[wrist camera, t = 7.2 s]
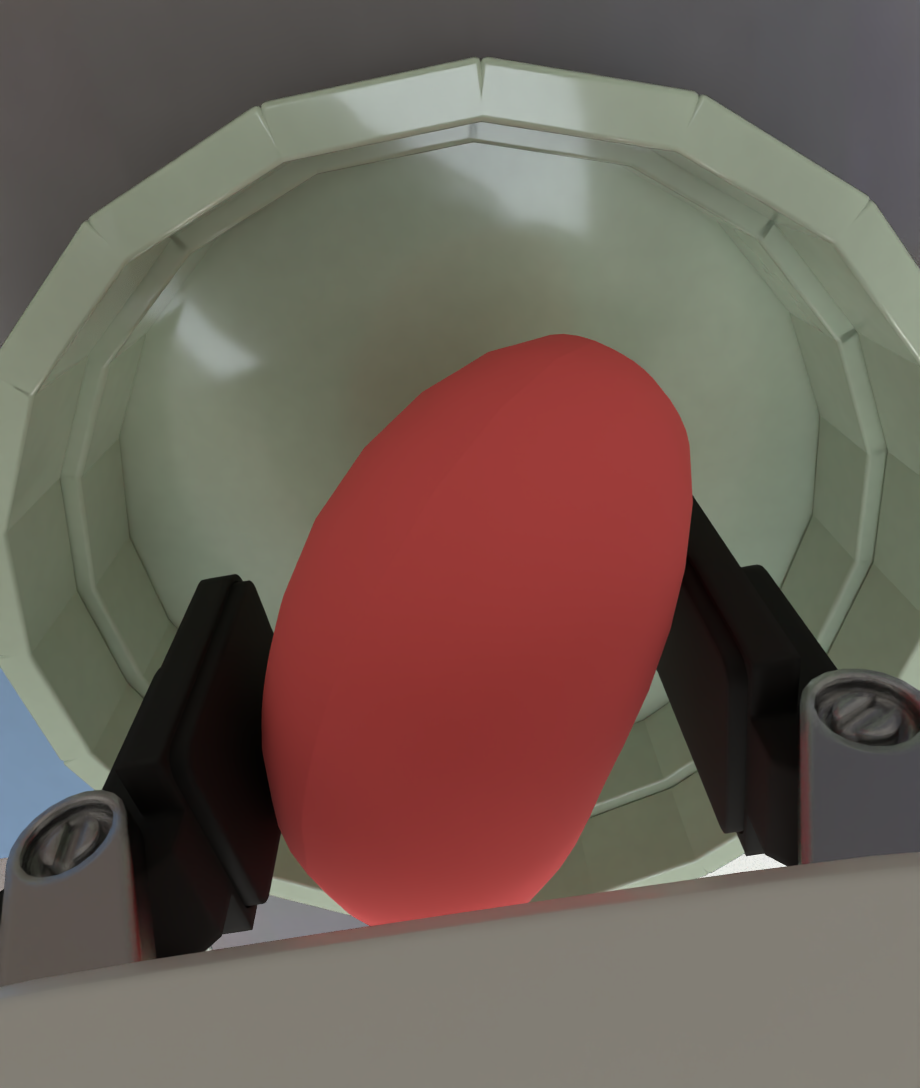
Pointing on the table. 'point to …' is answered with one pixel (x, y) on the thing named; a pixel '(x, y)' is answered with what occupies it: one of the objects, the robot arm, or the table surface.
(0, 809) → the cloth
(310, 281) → the bowl
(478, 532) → the red oval piece
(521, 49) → the table surface
